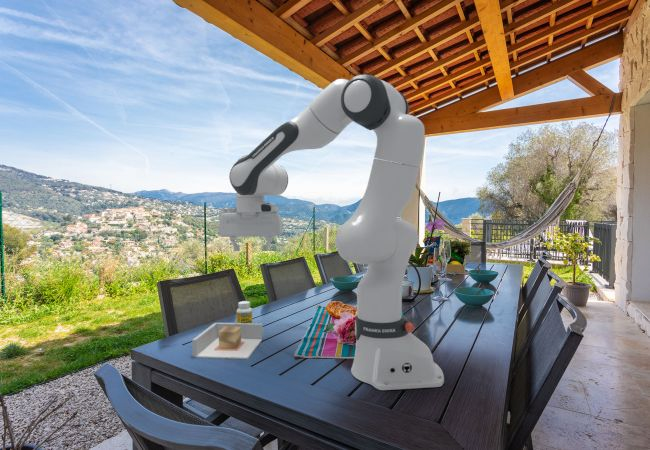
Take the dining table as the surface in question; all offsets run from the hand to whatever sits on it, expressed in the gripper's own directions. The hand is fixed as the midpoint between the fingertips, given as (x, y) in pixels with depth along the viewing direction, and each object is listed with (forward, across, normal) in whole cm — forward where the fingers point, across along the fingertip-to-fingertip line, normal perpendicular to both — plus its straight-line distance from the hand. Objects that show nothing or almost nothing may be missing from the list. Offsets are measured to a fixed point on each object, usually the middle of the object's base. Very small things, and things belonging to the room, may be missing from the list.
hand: (251, 250), depth 112 cm
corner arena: (+29, -5, -6) cm, 30 cm away
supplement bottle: (+29, -6, +11) cm, 31 cm away
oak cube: (+28, -5, -6) cm, 29 cm away
